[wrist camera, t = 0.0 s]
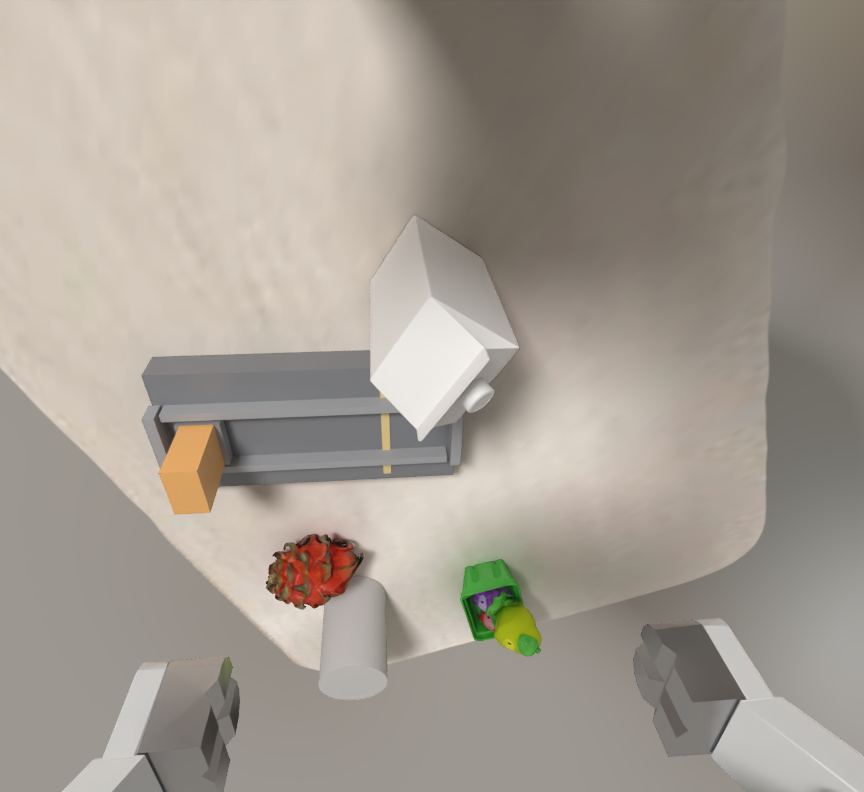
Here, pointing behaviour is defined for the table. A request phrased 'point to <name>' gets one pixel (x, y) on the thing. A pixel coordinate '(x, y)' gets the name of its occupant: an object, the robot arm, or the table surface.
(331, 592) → the dragon fruit
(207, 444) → the fader
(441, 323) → the milk carton
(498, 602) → the fruit basket
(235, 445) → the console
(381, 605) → the cup
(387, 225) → the table surface
